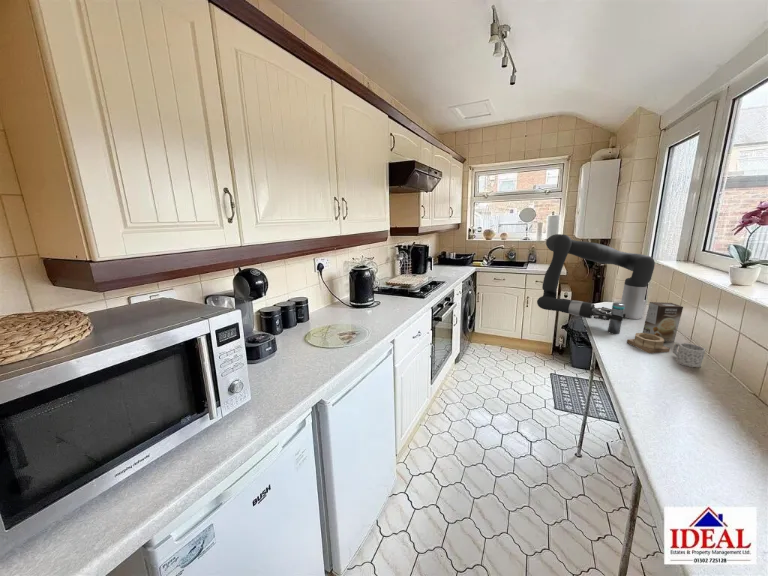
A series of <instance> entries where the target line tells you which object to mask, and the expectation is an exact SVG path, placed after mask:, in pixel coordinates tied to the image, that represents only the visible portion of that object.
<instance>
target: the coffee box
mask: <svg viewBox="0 0 768 576" xmlns="http://www.w3.org/2000/svg"><path fill="white" fill-rule="evenodd" d="M683 310H684V306H682V305H680V304H677V303H673V302H658V301H655V302H654V301H649V304H648V309H647V313H646V317H645V321H644V326H643V329H642V333H648V334H653V335H657V336H659V337H661V338H663V339H664V342H671V343H672V342H674V343H675V340H676V337H677V332H678V329H679V325H680V321H681V317H682V313H683Z"/></svg>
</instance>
